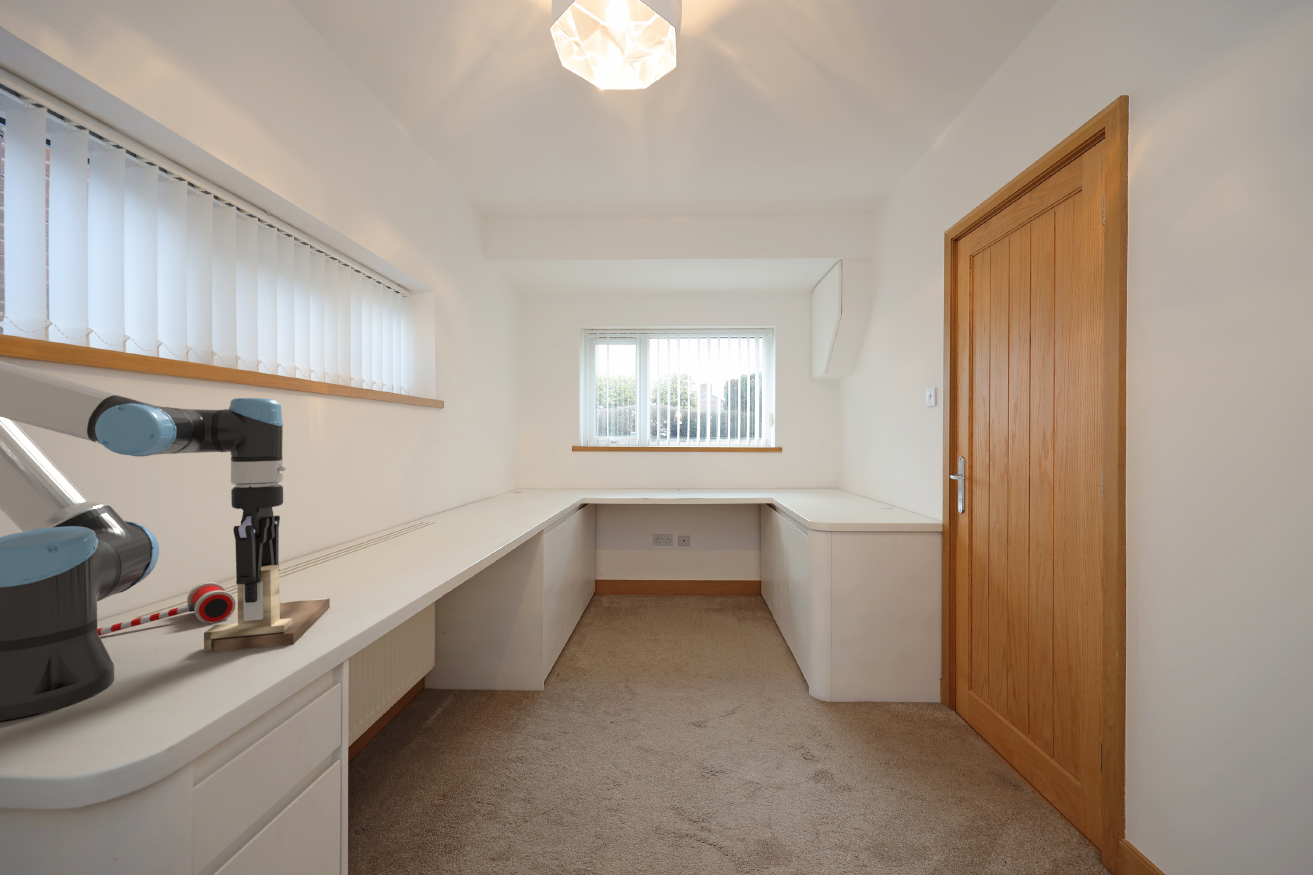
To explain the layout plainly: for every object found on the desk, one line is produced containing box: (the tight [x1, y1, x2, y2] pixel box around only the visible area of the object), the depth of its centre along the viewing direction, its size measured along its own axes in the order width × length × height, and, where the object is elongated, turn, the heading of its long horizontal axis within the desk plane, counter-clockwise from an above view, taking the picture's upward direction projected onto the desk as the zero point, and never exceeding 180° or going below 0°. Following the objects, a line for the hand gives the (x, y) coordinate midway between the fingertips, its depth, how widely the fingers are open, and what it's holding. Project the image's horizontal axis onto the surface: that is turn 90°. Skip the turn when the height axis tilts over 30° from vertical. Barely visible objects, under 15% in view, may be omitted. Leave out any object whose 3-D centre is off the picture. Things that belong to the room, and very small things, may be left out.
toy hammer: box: [97, 581, 237, 637], centre depth 109 cm, size 23×12×6 cm, turn 137°
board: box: [213, 598, 331, 653], centre depth 107 cm, size 12×22×2 cm, turn 16°
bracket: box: [203, 564, 292, 652], centre depth 98 cm, size 12×4×13 cm, turn 106°
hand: (259, 615), depth 99 cm, fingers closed on bracket, 4 cm apart
